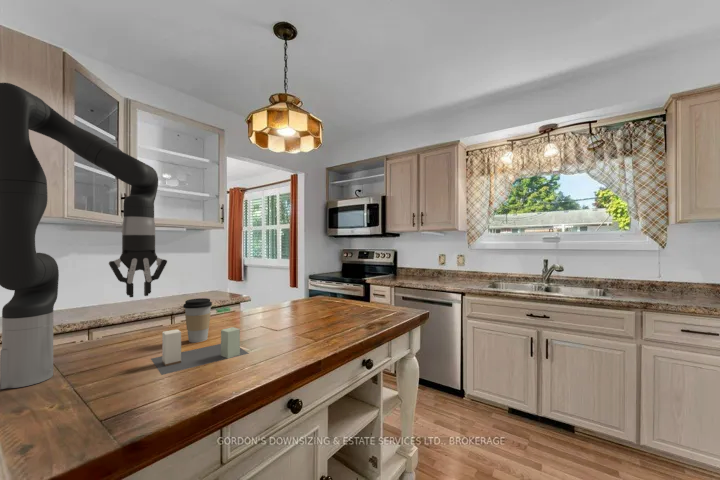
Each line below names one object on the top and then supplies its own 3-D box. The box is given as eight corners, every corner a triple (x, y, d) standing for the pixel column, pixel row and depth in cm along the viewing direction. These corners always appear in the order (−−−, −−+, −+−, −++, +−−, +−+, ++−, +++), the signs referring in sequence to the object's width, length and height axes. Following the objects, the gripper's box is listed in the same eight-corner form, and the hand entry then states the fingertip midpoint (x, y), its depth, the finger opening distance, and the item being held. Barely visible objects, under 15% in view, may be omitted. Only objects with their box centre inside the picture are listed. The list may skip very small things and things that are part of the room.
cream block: (165, 366, 90) (165, 334, 90) (162, 362, 93) (162, 331, 93) (181, 362, 93) (181, 331, 93) (177, 359, 96) (177, 329, 96)
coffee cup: (217, 338, 118) (217, 298, 119) (202, 346, 109) (202, 302, 109) (193, 337, 119) (193, 297, 120) (176, 345, 110) (176, 302, 110)
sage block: (227, 358, 96) (227, 332, 96) (221, 355, 99) (221, 329, 99) (239, 354, 99) (239, 329, 99) (232, 352, 102) (232, 327, 102)
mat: (161, 377, 84) (161, 374, 84) (150, 360, 96) (150, 358, 96) (249, 355, 100) (249, 353, 101) (230, 343, 112) (230, 341, 112)
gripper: (108, 233, 80) (107, 301, 80) (171, 234, 90) (170, 295, 90) (105, 233, 86) (105, 297, 86) (165, 234, 95) (165, 291, 95)
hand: (138, 295), depth 88 cm, fingers open, 3 cm apart
